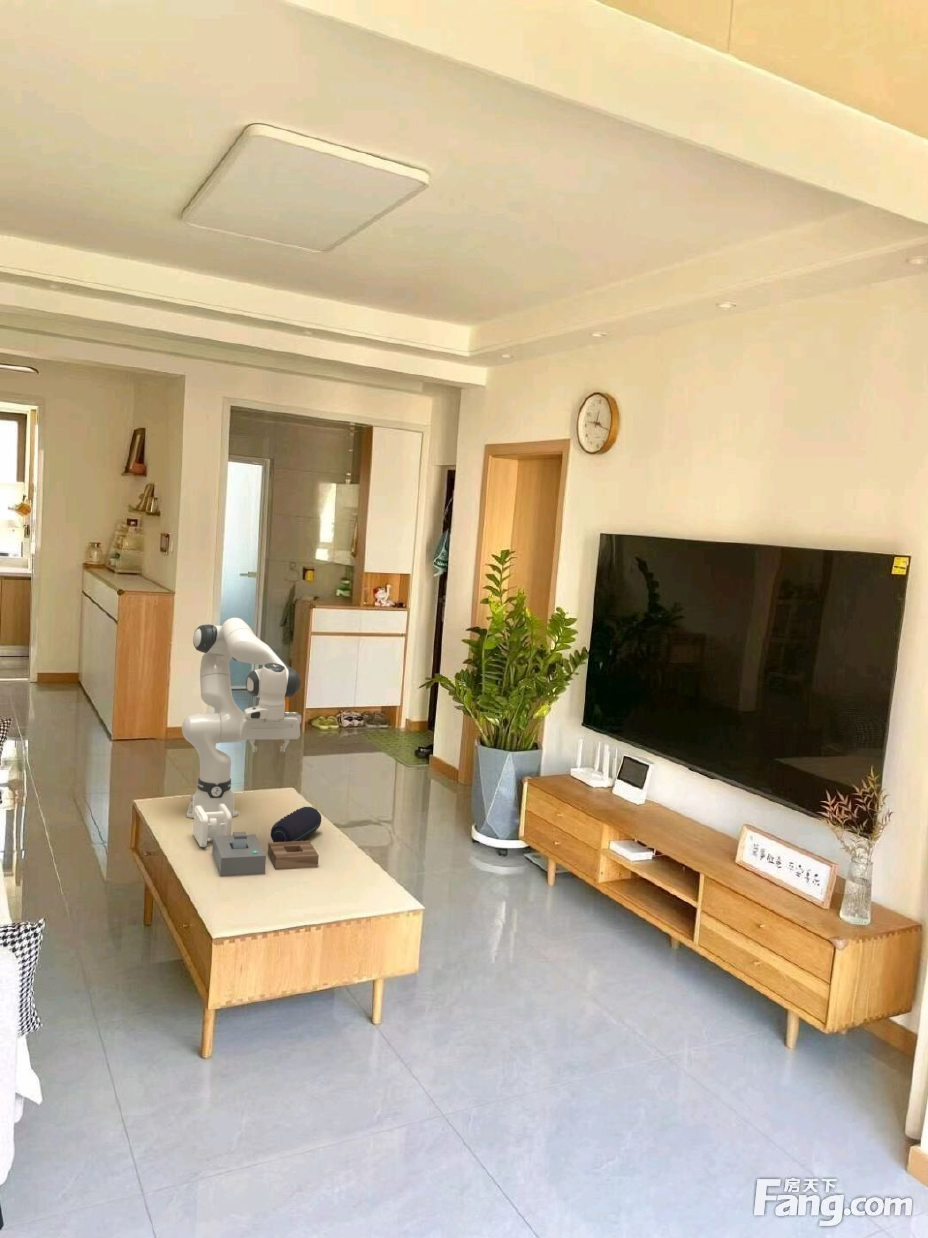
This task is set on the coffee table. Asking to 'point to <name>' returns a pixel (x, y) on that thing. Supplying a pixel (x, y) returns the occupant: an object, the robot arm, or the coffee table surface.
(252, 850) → the port box
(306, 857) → the square wooden frame
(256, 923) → the coffee table surface
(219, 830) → the cable organizer
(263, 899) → the coffee table surface
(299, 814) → the portable speaker
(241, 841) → the plug
